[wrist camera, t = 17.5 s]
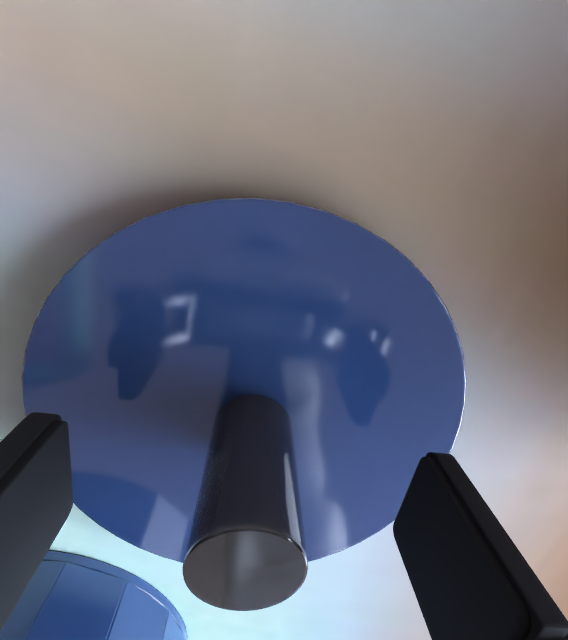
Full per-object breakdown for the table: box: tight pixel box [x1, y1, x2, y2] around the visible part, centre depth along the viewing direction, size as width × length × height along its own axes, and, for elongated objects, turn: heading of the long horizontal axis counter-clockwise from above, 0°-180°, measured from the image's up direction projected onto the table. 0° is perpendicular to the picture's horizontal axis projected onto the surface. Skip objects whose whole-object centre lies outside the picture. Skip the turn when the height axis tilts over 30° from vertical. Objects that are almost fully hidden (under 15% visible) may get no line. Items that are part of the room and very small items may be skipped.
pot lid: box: [22, 198, 466, 611], centre depth 10 cm, size 14×14×6 cm
